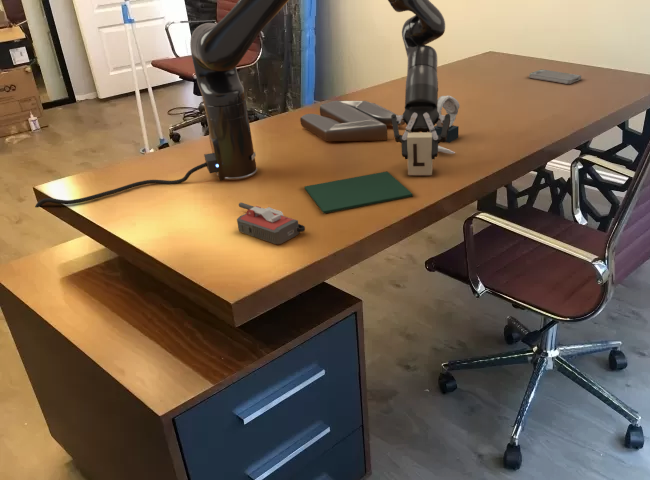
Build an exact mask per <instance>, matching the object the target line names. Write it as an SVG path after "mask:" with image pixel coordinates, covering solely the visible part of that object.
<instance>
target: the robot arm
mask: <svg viewBox="0 0 650 480" xmlns="http://www.w3.org/2000/svg"><path fill="white" fill-rule="evenodd" d="M289 1H290V0H238V1H237V2H236V3H235V5H234V6H233V7H232V8H231V10H229V11H228V13H227V14H226V15H225V16H224V17H222V19H221V20H220V21H218V22H217V23H213V22H205V23H202V24H200V25H199V26H197V27H196V28H195V29H194V30H193V32H192V34H191V36H190V42H189V45H190V54H191V60H192V64H193V68H194V73H195V78H196V82H197V86H198V89H199V91H200V94H201V97H202V101H203V106H204V111H205V116H206V122H207V128H208V132H209V133H208V138H209V142H210V149H211V153H205V154H203V157H204V160H205V162H203V163H201V164H198V165H196V166H194V167H193V168H191V169H189V170H188V171H187V172H186V174H185V175H184V176H183V177H182V178H180V179H175V180H165V179H145V180H140V181H137V182H133V183H129V184H126V185H123V186H120V187H117V188H114V189H109V190H106V191H103V192H100V193H99V192H98V193H96V194H93V195H89V196H84V197H81V198H75V199H68V200H67V199H58V198H52V197H46V198H42V199H40V200H39V201H38V202H37V203H36V204H35V206H34V208H40V207H42V205H44V204H47V203H54V204H59V205H76V204H81V203H85V202H90V201H93V200H97V199H101V198H104V197H107V196H110V195H114V194H117V193H120V192H123V191H127V190H130V189H133V188H137V187H140V186H145V185H153V184H154V185H155V184H157V185H179V184H182V183H184V182H186V181H187V180H188V179H189V178H190V176H191V175H193V173H195V172H198V171H199V170H201V169H204V168H206V169H207V171H208V172H209V174H216V176H217V178H218V179H219V181H221V182H222V181H240V180H245V179H248V178H249V179H250V178H251V177H253V176H255V175H256V174H258V167H257V162H256V155H257V154H256V151H255V150H254V144H253V137H252V132H251V124H250V119H249V112H248V105H247V100H246V94H245V93H246V92H245V88H244V86H243V84H242V82H241V80H240V77H239V74H238V70H237V66H238V65H239V63H240V62H241V61H242V60H243V58H244V56H245V55H246V54H247V52H248V50H249V49H250V48H251V46H252V45H253V43H254V42H255V40H256V39H257V37H258V36H259V35H260V34H261V32H262V31H263V30H264V29H265V28H266V26H267V25H268V24H269V23H270V22H271V21H272V20H273V19H274V18H275V17H276V15H278V14H279V12H281V10H282V9H283V8H284V7H285V5H286V4H287V3H288V2H289ZM387 1H388V3H389V4H390V6H391V7H392V9H393V10H394V12H396V13H404V12H410V13H413V14H414V15H413V16H410V18H407V20H405V22H404V24H403V25H402V27H401V37H402V42H403V45H404V49H405V53H406V57H407V72H406V78H405V94H404V95H405V96H404V97H405V98H404V111H403V113H402V114H398V115H399V116H396V115H395V114H396V113H395V114H393V115H391V119H392V125H393V126H392V132H393V137H394V142H395V143H400V144H401V156H402V157H403V158H404V160H408V151H407V136H408V133H410V132H430V133H432V154H431V157H432V160H435V159H436V158H437V157H438V155H439V152H438V146H439V144H441V143H447V142H446V139H447V134H448V130H449V125H450V118H451V117H450V114H448V113H446V114H445V115H444V114H441V115H439V113H438V111H437V104H438V98H439V81H438V80H439V78H438V53H437V51H436V49H435V48H434V47H432V46H430V45H428V44H430V43H432V42H434V41H436V40H438V39H440V38H441V37H442V36H444V34H445V33H446V32H445V31H446V20H445V18H444V16H443V13H442V12H441V11H440V9H438V8H437V6H435V5H434V4H433V2H431V0H387ZM438 120H440V121H441V125H443V127H442V132H441V134H440V135H437V133H436V131H435V128H434V126H436V125H437V124H436V123H437V122H438ZM401 121H404V122H405V125H406V127H405V130H404V132H403V134H400V130H399V129H400V128H399V125H401ZM401 126H402V125H401Z"/></svg>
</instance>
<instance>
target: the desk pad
mask: <svg viewBox="0 0 650 480" xmlns="http://www.w3.org/2000/svg"><path fill="white" fill-rule="evenodd" d="M304 189H305V191H306V193H307V195H308V196H309V197H310V198H311V199H312V201H313V202H314V203H315V204H316V205H317V207H318V208H319V209H320V211H321V212H322V213H323V214H324V215H325V214H330V213H336V212H340V211H341V212H342V211H346V210H350V209H356V208H361V207H365V206H371V205H376V204H381V203H387V202H391V201H396V200H400V199H401V200H403V199H406V198H411V197H413V196H414V195H413V192H411V191H410V190H409V189H408V188H407V187H406V186H405V185H403V184H402V182H400V181H399V180H397V178H396V177H394V176H393V175H392V174H391V173H390V172H388V171H381V172H375V173H370V174H365V175H359V176H354V177H349V178H343V179H337V180H331V181H326V182H320V183H316V184H310V185H305V186H304Z"/></svg>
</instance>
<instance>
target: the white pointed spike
mask: <svg viewBox="0 0 650 480" xmlns="http://www.w3.org/2000/svg"><path fill="white" fill-rule="evenodd" d="M439 152H440V153H443V154H450V155H455V154H456V152H455V151H453V150H452V149H448V148H446V147H444V146H441V145H438V153H439Z"/></svg>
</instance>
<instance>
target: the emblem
mask: <svg viewBox="0 0 650 480" xmlns="http://www.w3.org/2000/svg"><path fill="white" fill-rule="evenodd" d="M319 113H320V114H316V113H306V114H303V115H302V116H300V118H299V122H300V126H301V127H302V128H304V129H305V130H307V131H309V132H311V133H312V134H315V135H316V136H317V137H319V138H321V139H323V140H324V141H326V142H365V141H366V142H367V141H368V142H369V141H370V142H372V141H373V142H374V141H387V140H388V127H389V126H390V127H393V125H392V119H391V115H393V114H395V115H396V116H399V115H400V114H397V113H396V112H393V111H391V110H390V109H387V108H386V107H383V106H382V105H379V104H377V103H375V102H370V101H367V100H331V101H329V102H326V103H321V104H320V106H319ZM403 125H406V123H405V122H404V121H401V125H399V126H403ZM387 126H388V127H387ZM399 126H398V127H399Z"/></svg>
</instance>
